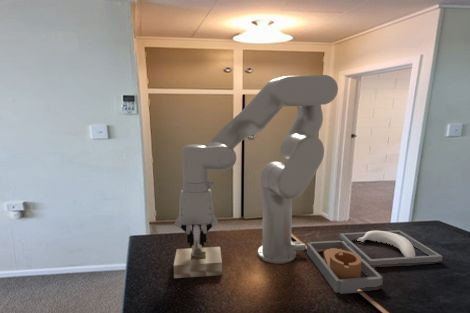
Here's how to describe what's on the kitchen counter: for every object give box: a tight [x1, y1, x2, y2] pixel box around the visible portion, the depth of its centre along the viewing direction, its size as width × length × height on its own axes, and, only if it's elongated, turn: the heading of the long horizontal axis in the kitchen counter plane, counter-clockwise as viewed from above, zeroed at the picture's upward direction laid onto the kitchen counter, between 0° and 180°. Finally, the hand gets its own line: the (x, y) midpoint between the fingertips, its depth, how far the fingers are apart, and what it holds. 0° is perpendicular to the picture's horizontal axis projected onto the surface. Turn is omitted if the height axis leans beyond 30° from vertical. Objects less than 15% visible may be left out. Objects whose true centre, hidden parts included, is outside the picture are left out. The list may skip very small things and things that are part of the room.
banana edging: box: [338, 229, 443, 265], centre depth 98 cm, size 24×20×2 cm
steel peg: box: [191, 224, 203, 256], centre depth 87 cm, size 3×3×10 cm
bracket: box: [323, 248, 362, 279], centre depth 86 cm, size 18×8×7 cm, turn 172°
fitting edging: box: [306, 240, 384, 295], centre depth 87 cm, size 13×23×4 cm, turn 6°
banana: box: [357, 230, 416, 257], centre depth 98 cm, size 5×19×15 cm
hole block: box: [173, 246, 223, 279], centre depth 89 cm, size 14×10×4 cm
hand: (196, 244), depth 88 cm, fingers closed on steel peg, 3 cm apart
